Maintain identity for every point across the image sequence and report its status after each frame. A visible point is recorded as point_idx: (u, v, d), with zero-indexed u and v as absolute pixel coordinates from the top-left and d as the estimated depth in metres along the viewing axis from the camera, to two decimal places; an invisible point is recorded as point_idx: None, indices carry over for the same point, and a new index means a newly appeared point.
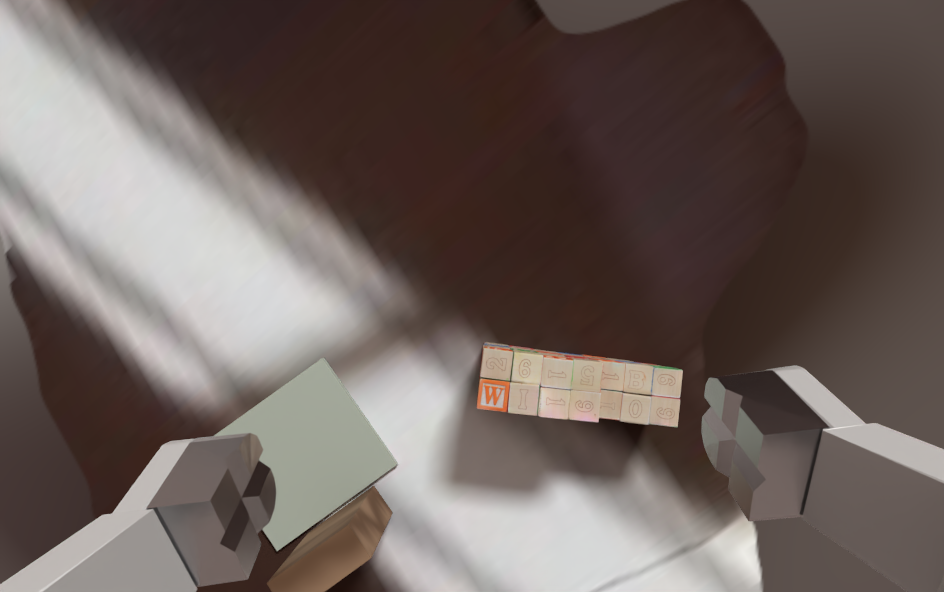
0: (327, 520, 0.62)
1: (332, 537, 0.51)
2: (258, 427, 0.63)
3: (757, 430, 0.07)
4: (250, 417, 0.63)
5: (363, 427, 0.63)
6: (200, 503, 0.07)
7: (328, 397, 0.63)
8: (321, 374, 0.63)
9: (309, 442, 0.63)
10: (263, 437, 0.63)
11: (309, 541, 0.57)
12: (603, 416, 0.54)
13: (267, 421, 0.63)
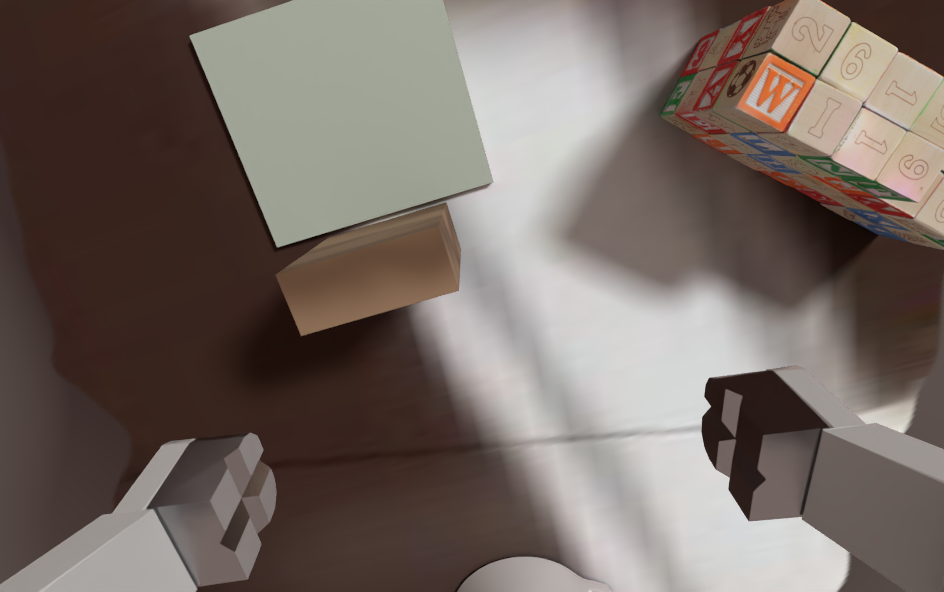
0: (365, 228, 0.40)
1: (405, 238, 0.29)
2: (288, 42, 0.37)
3: (757, 430, 0.07)
4: (278, 18, 0.36)
5: (461, 105, 0.38)
6: (200, 503, 0.07)
7: (419, 32, 0.37)
8: None
9: (367, 98, 0.38)
10: (293, 62, 0.37)
11: (343, 242, 0.35)
12: (894, 203, 0.32)
13: (307, 36, 0.37)
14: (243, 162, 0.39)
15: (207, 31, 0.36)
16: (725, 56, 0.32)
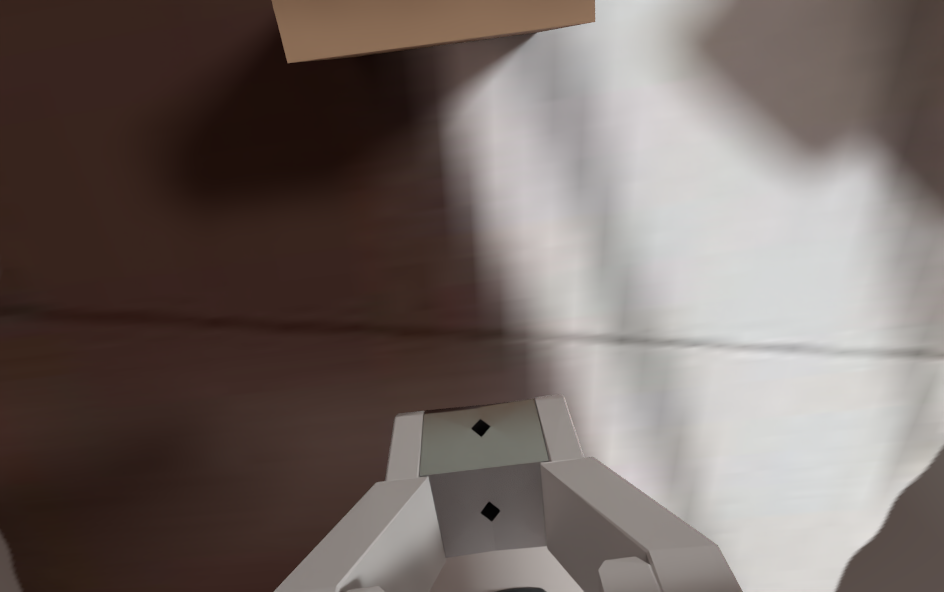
0: None
1: None
2: None
3: (483, 463, 0.07)
4: None
5: None
6: (472, 471, 0.07)
7: None
8: None
9: None
10: None
11: None
12: None
13: None
14: None
15: None
16: None
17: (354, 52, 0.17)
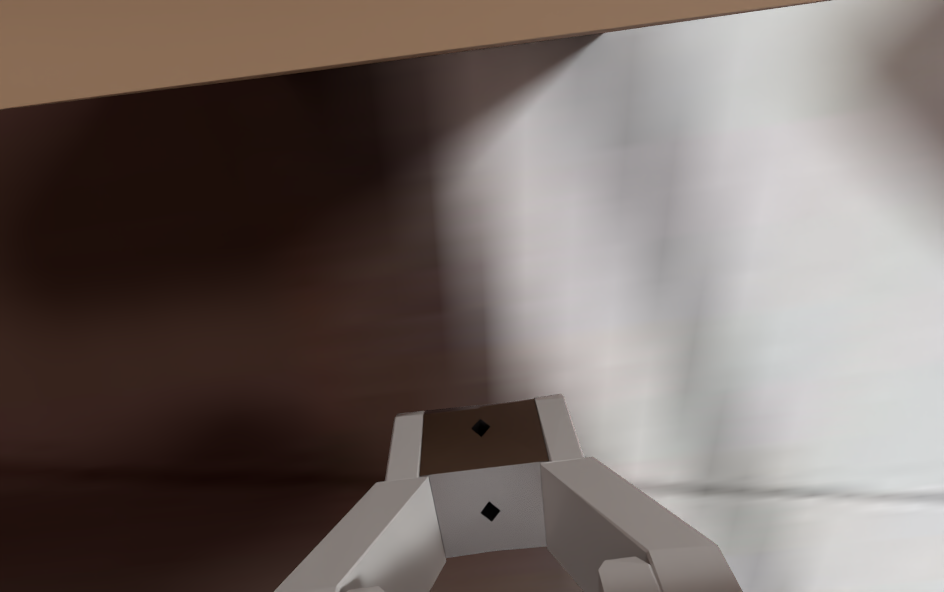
0: None
1: None
2: None
3: (483, 463, 0.07)
4: None
5: None
6: (472, 471, 0.07)
7: None
8: None
9: None
10: None
11: None
12: None
13: None
14: None
15: None
16: None
17: (136, 85, 0.05)
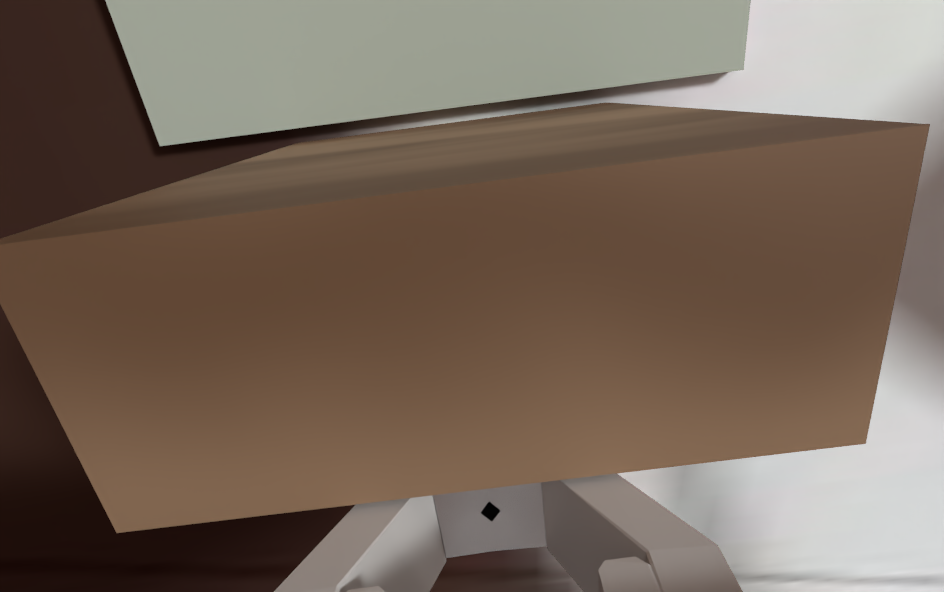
0: (397, 131, 0.15)
1: (729, 162, 0.05)
2: None
3: None
4: None
5: None
6: None
7: None
8: None
9: None
10: None
11: (345, 152, 0.11)
12: None
13: None
14: None
15: None
16: None
17: (277, 510, 0.07)
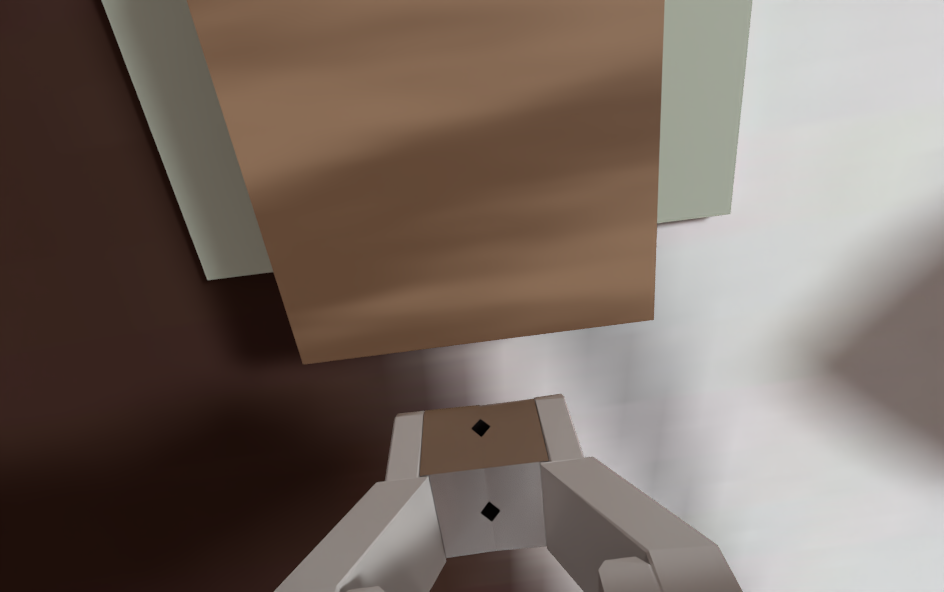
0: None
1: None
2: None
3: (483, 463, 0.07)
4: None
5: (725, 14, 0.15)
6: (472, 471, 0.07)
7: None
8: None
9: None
10: None
11: None
12: None
13: None
14: (129, 62, 0.15)
15: None
16: None
17: None
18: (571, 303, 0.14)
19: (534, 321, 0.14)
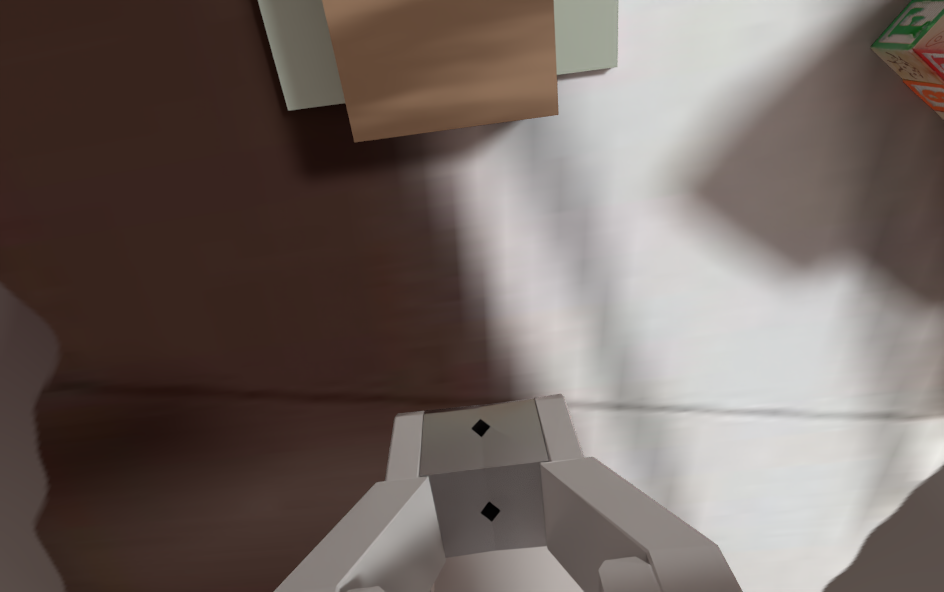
0: None
1: None
2: None
3: (483, 463, 0.07)
4: None
5: None
6: (472, 471, 0.07)
7: None
8: None
9: None
10: None
11: None
12: None
13: None
14: None
15: None
16: None
17: None
18: (509, 102, 0.24)
19: (488, 114, 0.25)
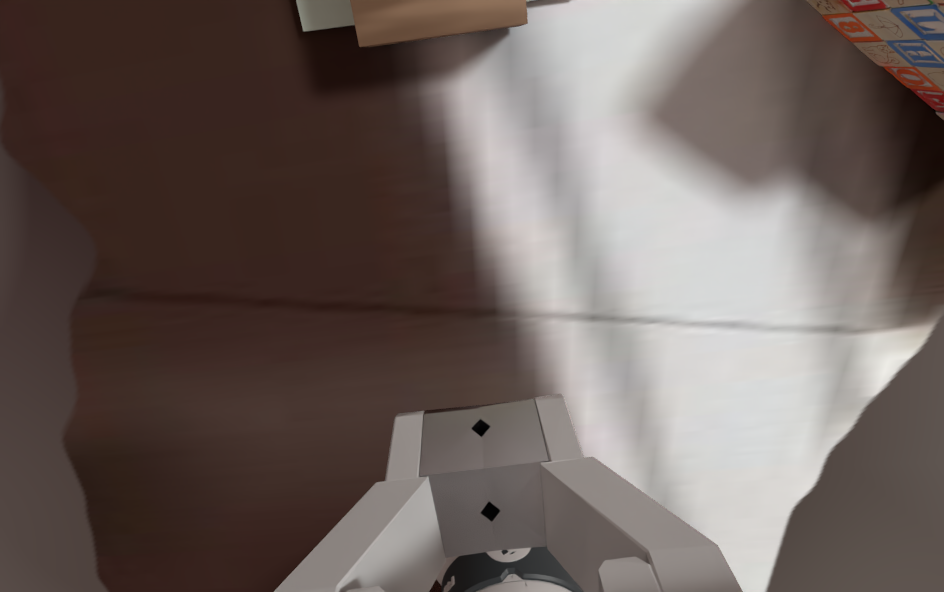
0: None
1: None
2: None
3: (483, 463, 0.07)
4: None
5: None
6: (472, 471, 0.07)
7: None
8: None
9: None
10: None
11: None
12: None
13: None
14: None
15: None
16: None
17: None
18: (487, 12, 0.30)
19: (470, 22, 0.30)
